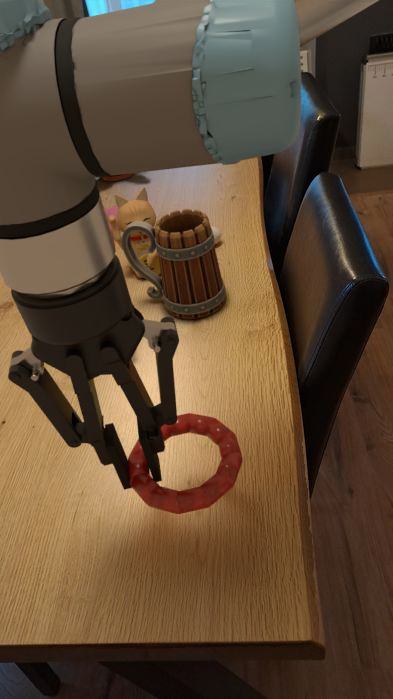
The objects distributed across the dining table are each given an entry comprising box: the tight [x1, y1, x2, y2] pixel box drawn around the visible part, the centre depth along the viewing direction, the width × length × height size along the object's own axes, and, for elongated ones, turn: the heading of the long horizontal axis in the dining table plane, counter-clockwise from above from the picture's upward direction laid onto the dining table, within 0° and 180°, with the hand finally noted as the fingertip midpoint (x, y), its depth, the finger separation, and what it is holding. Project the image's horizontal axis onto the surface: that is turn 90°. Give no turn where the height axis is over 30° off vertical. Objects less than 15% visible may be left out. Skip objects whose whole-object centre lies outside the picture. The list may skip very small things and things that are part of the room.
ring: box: [127, 412, 244, 515], centre depth 48 cm, size 11×11×2 cm
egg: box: [210, 225, 223, 246], centre depth 97 cm, size 4×6×4 cm, turn 98°
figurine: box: [109, 187, 161, 279], centre depth 90 cm, size 9×10×15 cm
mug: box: [121, 208, 226, 320], centre depth 80 cm, size 16×11×15 cm
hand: (141, 473), depth 48 cm, fingers closed on ring, 2 cm apart
